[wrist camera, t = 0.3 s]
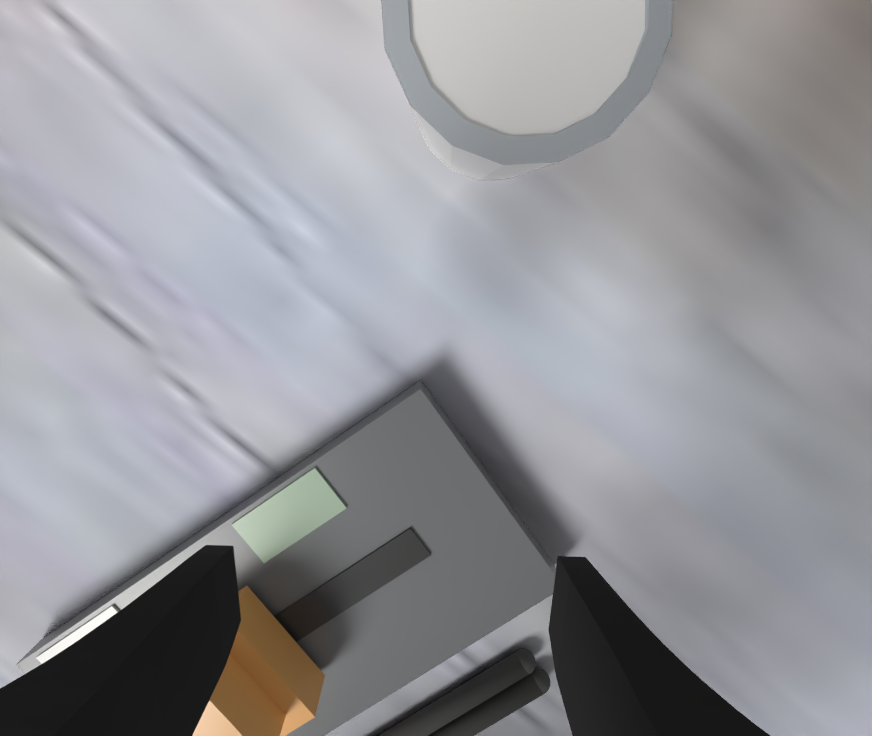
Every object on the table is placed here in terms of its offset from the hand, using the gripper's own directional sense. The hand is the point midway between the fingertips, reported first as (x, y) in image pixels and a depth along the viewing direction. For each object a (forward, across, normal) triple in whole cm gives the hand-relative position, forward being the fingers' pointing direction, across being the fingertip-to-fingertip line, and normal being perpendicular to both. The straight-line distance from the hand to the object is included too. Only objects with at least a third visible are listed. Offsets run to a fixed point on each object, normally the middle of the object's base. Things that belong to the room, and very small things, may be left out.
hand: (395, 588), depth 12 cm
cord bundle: (+8, -1, +15) cm, 17 cm away
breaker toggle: (+7, +6, +10) cm, 13 cm away
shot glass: (+12, -2, -12) cm, 17 cm away
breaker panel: (+9, +5, +9) cm, 13 cm away
